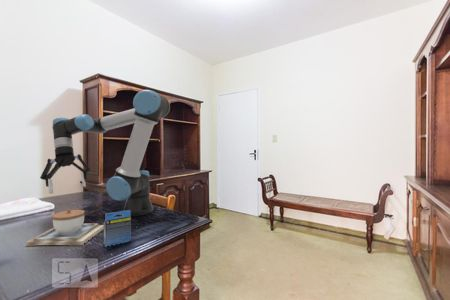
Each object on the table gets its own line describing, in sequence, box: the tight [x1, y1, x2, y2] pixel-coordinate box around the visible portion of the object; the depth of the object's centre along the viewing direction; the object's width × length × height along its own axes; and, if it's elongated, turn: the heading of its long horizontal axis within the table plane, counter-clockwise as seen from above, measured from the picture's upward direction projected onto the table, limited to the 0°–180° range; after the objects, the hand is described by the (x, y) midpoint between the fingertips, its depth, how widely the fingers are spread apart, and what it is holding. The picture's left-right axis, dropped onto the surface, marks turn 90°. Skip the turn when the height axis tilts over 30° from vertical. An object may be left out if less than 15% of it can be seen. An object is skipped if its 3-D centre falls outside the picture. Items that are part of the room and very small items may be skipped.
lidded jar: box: [51, 208, 85, 235], centre depth 92 cm, size 11×11×9 cm
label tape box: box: [103, 210, 132, 248], centre depth 86 cm, size 9×4×12 cm, turn 126°
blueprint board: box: [25, 222, 104, 247], centre depth 92 cm, size 20×17×2 cm
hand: (68, 189), depth 109 cm, fingers open, 13 cm apart
